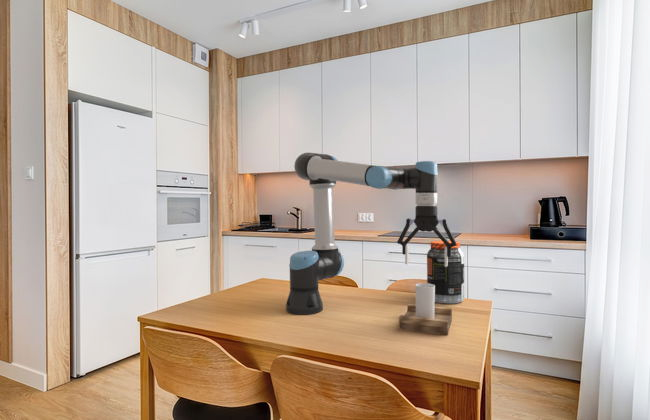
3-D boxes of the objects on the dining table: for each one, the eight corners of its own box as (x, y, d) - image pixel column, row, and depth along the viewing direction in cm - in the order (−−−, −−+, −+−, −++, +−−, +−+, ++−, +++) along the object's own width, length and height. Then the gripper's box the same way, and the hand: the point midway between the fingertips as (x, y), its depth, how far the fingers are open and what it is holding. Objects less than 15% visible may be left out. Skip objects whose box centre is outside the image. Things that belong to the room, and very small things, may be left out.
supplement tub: (471, 300, 167) (471, 242, 166) (448, 306, 158) (448, 244, 157) (442, 293, 180) (442, 239, 179) (419, 298, 171) (419, 241, 170)
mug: (430, 323, 130) (430, 288, 129) (412, 319, 134) (411, 285, 134) (441, 316, 138) (441, 283, 137) (424, 312, 142) (424, 280, 142)
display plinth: (399, 329, 131) (399, 316, 131) (408, 315, 147) (408, 303, 147) (447, 335, 125) (447, 322, 125) (451, 320, 141) (451, 308, 141)
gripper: (389, 205, 136) (389, 264, 137) (463, 205, 126) (462, 268, 127) (393, 204, 143) (393, 261, 144) (464, 205, 133) (464, 265, 134)
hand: (426, 264), depth 135 cm, fingers open, 13 cm apart
